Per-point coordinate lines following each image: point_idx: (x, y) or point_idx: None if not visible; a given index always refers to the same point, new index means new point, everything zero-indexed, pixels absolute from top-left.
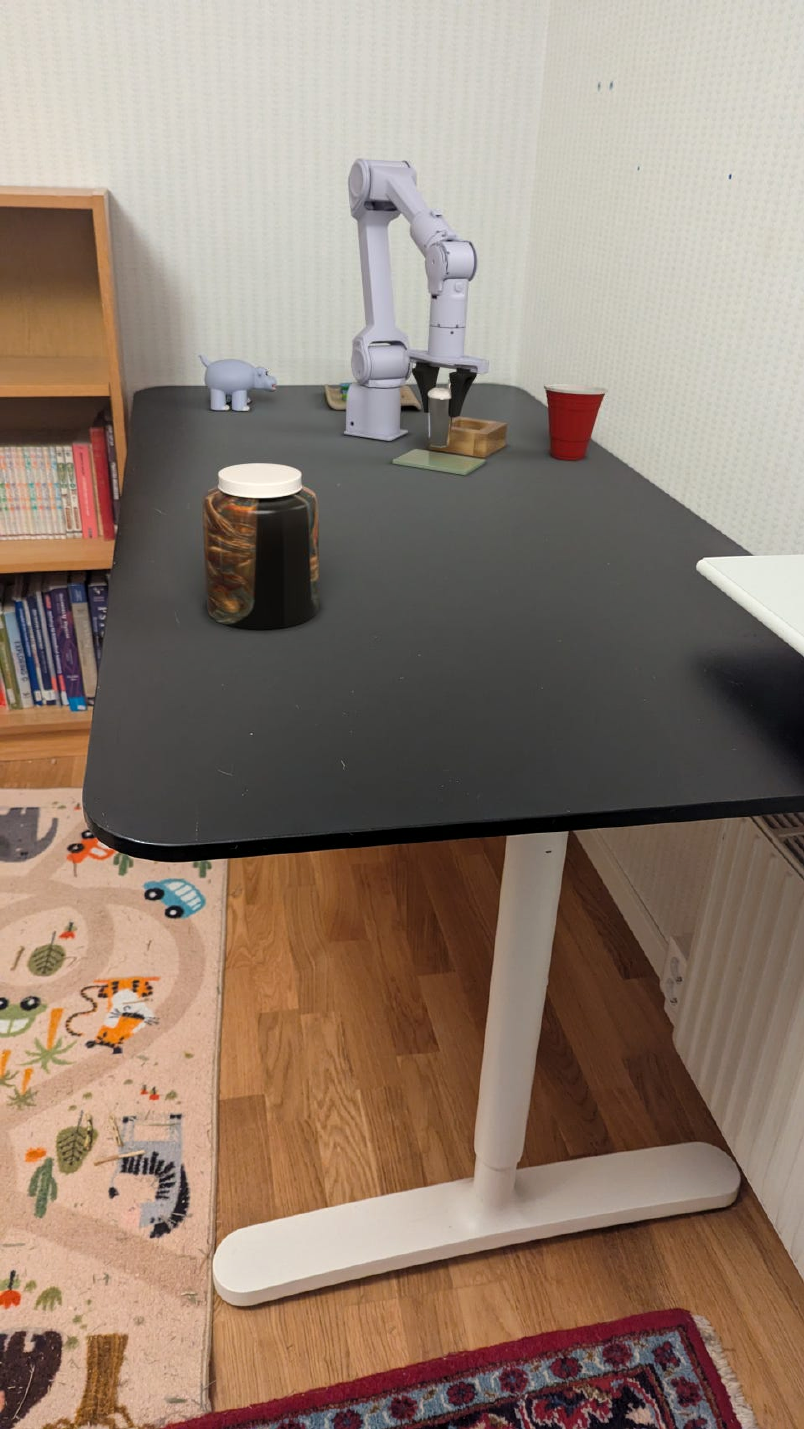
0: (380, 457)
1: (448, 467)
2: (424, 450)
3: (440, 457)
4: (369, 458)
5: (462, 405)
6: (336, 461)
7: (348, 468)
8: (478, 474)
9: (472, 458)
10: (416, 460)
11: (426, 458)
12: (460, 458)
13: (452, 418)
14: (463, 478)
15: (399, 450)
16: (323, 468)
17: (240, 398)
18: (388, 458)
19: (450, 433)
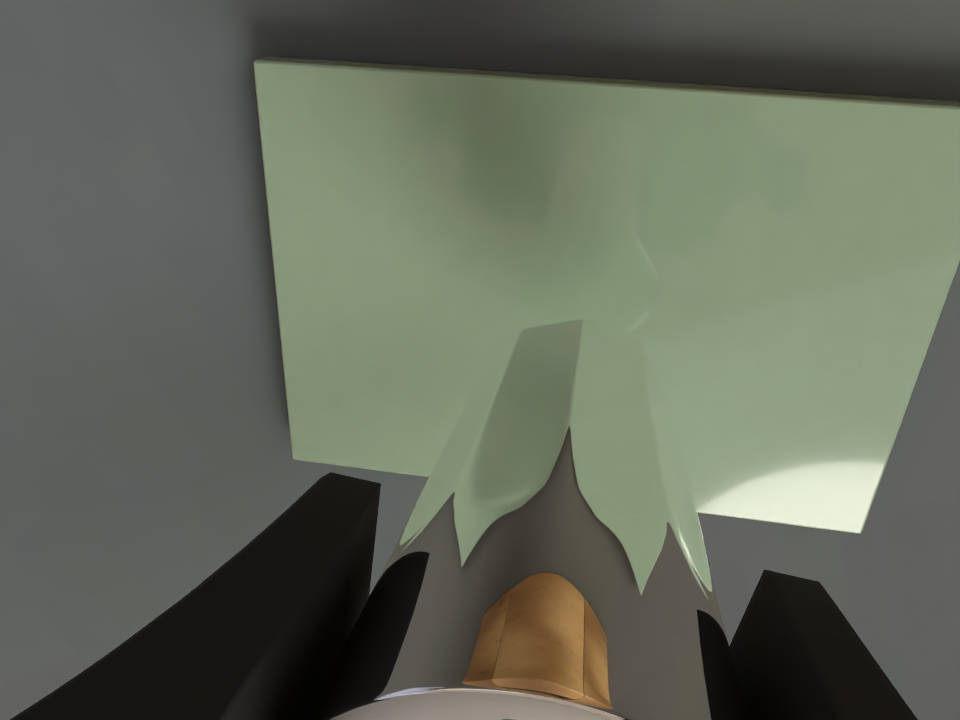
0: (151, 332)
1: (712, 487)
2: (351, 70)
3: (569, 244)
4: (115, 386)
5: (900, 709)
6: (27, 518)
7: (164, 608)
8: (954, 454)
9: (869, 132)
10: (434, 408)
11: (477, 327)
12: (749, 189)
13: (711, 575)
14: (849, 573)
15: (129, 52)
16: (76, 644)
17: None
18: (207, 332)
19: (683, 455)
